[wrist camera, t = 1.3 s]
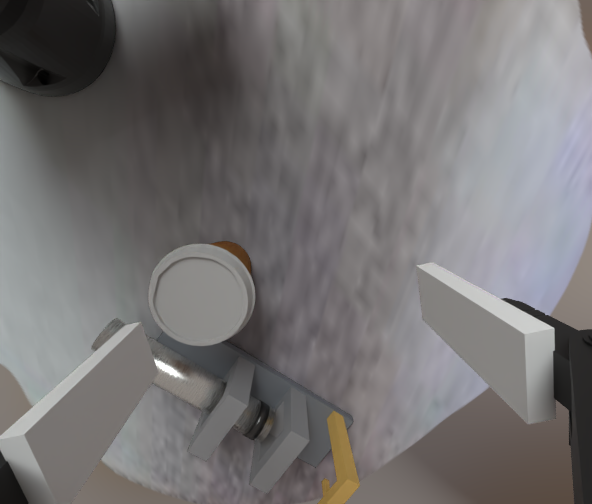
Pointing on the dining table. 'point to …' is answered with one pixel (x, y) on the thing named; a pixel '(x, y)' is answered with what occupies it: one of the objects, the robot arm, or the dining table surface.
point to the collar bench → (287, 424)
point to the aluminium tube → (197, 385)
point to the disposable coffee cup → (202, 292)
